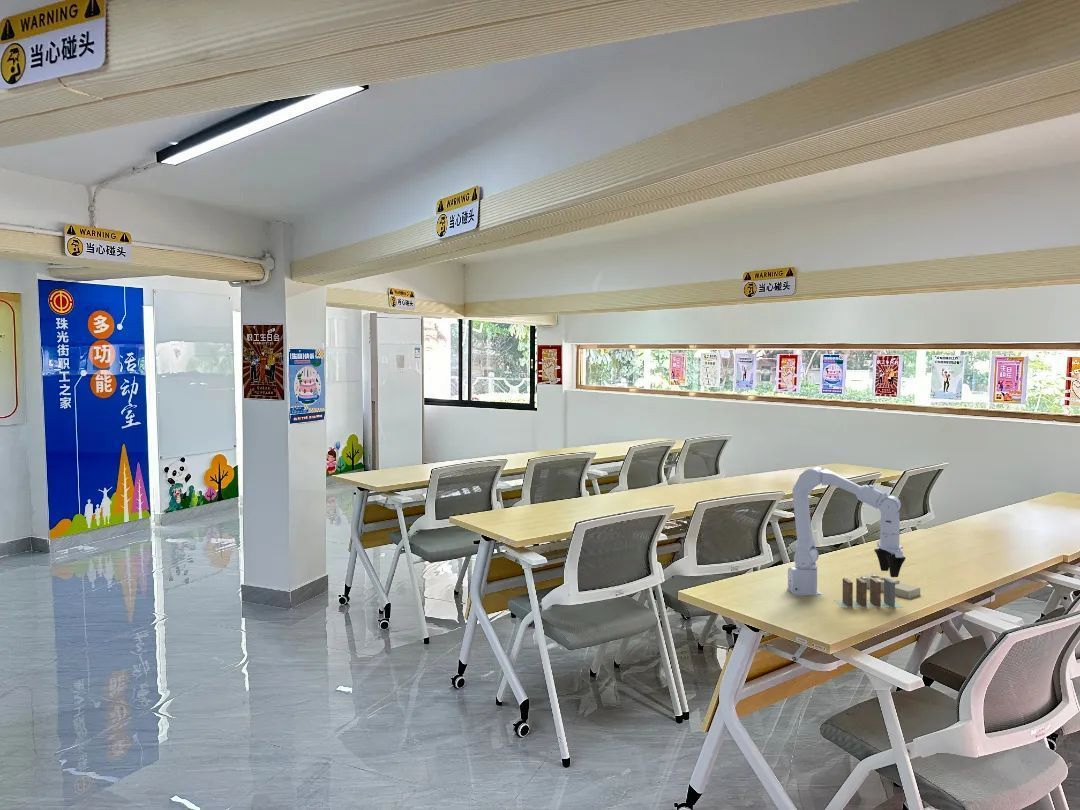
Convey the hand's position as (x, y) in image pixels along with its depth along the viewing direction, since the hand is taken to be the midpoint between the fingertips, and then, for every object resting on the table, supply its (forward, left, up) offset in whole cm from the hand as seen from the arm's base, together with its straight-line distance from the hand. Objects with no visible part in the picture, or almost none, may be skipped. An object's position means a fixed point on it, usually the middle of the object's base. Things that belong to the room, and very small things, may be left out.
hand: (889, 573), depth 240 cm
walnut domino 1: (-13, 0, -10) cm, 17 cm away
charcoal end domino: (0, 0, -10) cm, 10 cm away
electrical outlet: (+7, +15, -11) cm, 20 cm away
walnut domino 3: (-4, 0, -10) cm, 11 cm away
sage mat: (-6, 0, -10) cm, 12 cm away
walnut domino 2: (-9, 0, -10) cm, 14 cm away
